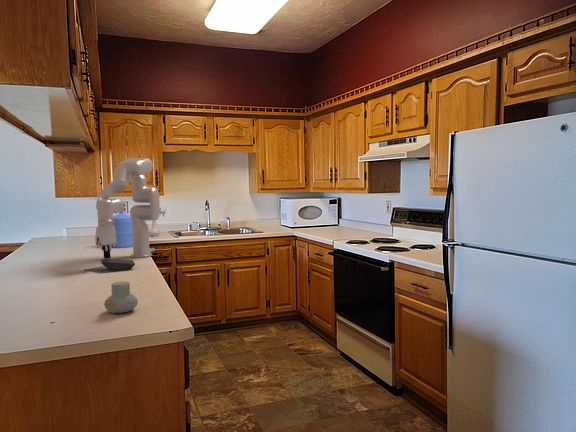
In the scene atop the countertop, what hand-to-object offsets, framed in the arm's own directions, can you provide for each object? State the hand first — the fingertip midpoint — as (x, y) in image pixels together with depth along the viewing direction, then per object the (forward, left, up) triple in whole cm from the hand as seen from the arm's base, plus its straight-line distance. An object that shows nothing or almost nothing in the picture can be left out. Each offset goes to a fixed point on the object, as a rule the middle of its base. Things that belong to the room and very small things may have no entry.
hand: (107, 258), depth 231 cm
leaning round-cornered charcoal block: (-4, +3, -2) cm, 5 cm away
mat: (+3, 0, -6) cm, 6 cm away
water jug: (-63, -59, -6) cm, 86 cm away
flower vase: (-120, -84, -6) cm, 147 cm away
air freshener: (+52, +69, -6) cm, 87 cm away
